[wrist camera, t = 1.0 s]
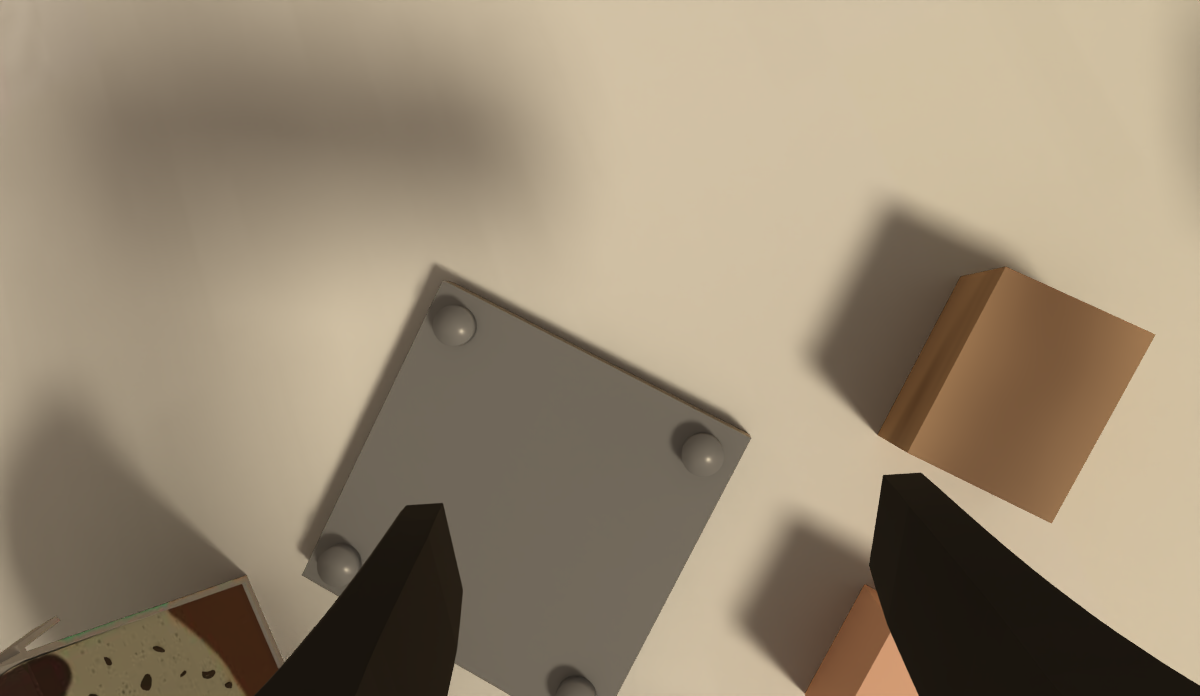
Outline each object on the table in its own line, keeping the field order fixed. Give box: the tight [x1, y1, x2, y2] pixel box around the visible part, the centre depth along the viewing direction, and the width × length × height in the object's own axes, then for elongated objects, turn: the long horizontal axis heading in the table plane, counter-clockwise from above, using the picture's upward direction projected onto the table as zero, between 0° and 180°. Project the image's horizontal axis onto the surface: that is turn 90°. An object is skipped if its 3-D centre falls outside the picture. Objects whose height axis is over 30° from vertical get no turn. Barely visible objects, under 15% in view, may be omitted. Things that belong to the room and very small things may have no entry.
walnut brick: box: [878, 267, 1155, 523], centre depth 24 cm, size 4×6×4 cm
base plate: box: [302, 280, 751, 696], centre depth 27 cm, size 12×12×2 cm
